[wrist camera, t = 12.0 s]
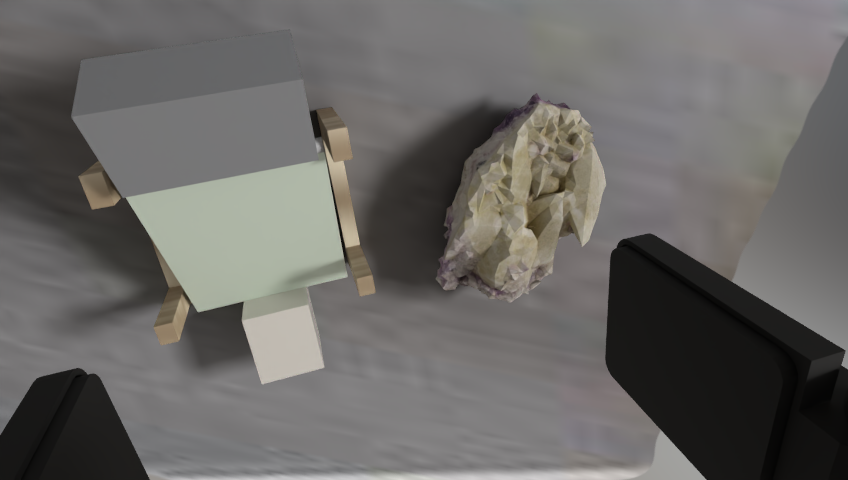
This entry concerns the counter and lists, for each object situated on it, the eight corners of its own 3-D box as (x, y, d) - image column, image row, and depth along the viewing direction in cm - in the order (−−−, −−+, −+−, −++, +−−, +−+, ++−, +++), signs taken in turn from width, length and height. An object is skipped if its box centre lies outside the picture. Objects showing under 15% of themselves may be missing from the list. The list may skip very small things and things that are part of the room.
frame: (120, 144, 37) (78, 176, 29) (331, 107, 40) (346, 127, 32) (178, 301, 43) (156, 365, 34) (361, 258, 45) (381, 308, 37)
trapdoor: (71, 61, 28) (59, 118, 25) (298, 28, 30) (312, 77, 27) (196, 277, 44) (198, 328, 41) (339, 245, 46) (351, 291, 43)
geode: (556, 118, 51) (418, 106, 45) (634, 93, 43) (478, 75, 36) (562, 291, 51) (425, 305, 45) (640, 301, 43) (486, 320, 36)
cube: (241, 320, 39) (262, 384, 42) (308, 304, 40) (324, 367, 43) (245, 290, 44) (263, 349, 46) (304, 276, 45) (319, 335, 47)
